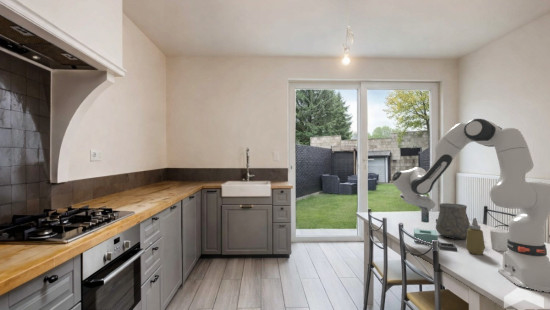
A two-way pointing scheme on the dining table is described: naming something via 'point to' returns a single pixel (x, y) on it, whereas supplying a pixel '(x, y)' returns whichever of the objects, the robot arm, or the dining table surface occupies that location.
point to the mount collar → (453, 247)
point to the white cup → (499, 239)
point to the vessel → (452, 221)
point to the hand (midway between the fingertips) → (425, 209)
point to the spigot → (424, 215)
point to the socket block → (425, 235)
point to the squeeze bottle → (475, 239)
